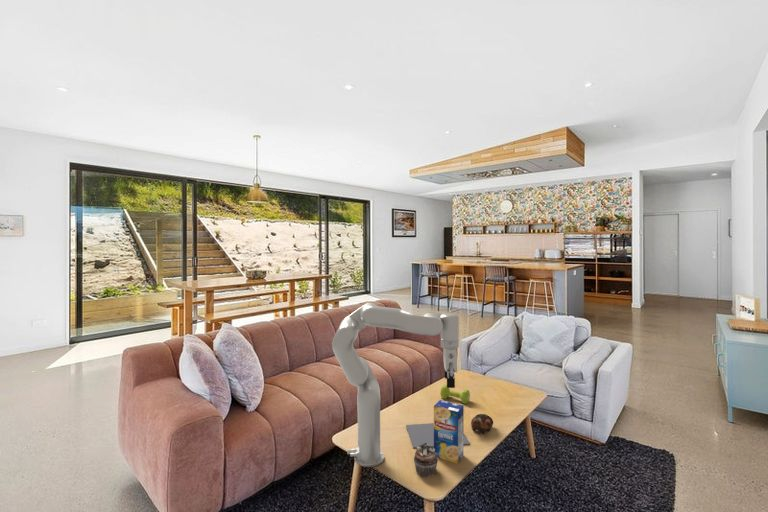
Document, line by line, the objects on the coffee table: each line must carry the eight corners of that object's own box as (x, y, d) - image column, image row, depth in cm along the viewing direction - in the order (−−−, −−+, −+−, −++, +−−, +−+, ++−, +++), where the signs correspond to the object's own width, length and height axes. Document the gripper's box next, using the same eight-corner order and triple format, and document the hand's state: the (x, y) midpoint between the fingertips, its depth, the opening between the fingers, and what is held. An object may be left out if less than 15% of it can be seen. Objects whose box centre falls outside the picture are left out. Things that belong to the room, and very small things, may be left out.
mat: (413, 448, 166) (413, 447, 166) (405, 426, 186) (405, 424, 186) (470, 444, 169) (470, 443, 169) (456, 422, 189) (456, 421, 189)
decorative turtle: (465, 434, 178) (465, 417, 178) (480, 424, 190) (479, 408, 190) (484, 440, 172) (484, 422, 172) (498, 429, 183) (498, 412, 184)
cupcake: (408, 470, 151) (408, 446, 150) (424, 460, 157) (424, 437, 157) (427, 481, 144) (427, 456, 143) (442, 470, 150) (442, 446, 150)
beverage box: (458, 463, 155) (458, 411, 154) (433, 455, 161) (433, 405, 160) (463, 455, 161) (463, 405, 160) (439, 448, 166) (439, 399, 165)
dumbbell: (471, 400, 214) (471, 388, 214) (466, 406, 208) (466, 393, 207) (444, 394, 223) (444, 382, 223) (439, 399, 216) (439, 387, 216)
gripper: (461, 349, 149) (461, 391, 150) (456, 337, 166) (455, 375, 167) (442, 349, 149) (442, 391, 150) (439, 337, 167) (438, 375, 168)
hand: (449, 382), depth 159 cm, fingers open, 9 cm apart
